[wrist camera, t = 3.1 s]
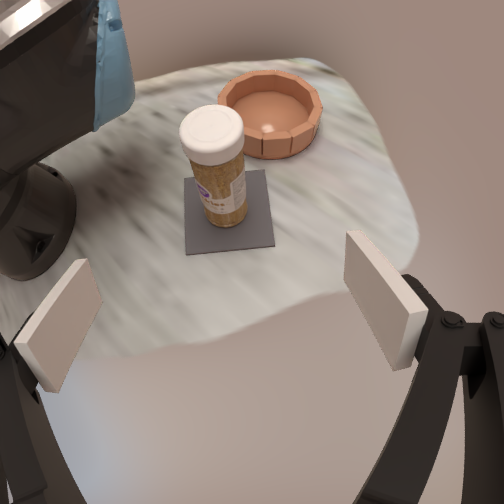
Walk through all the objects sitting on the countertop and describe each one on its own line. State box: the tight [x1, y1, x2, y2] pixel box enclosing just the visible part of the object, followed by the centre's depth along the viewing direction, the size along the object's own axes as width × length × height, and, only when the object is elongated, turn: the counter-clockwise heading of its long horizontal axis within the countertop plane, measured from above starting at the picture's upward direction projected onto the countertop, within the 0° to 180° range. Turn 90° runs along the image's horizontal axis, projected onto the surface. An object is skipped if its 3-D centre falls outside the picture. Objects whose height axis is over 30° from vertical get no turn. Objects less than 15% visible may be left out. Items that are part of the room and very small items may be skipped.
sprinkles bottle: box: [179, 105, 248, 228], centre depth 26 cm, size 5×5×14 cm
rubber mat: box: [184, 170, 275, 255], centre depth 33 cm, size 9×9×1 cm
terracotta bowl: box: [218, 70, 323, 159], centre depth 35 cm, size 12×12×4 cm
